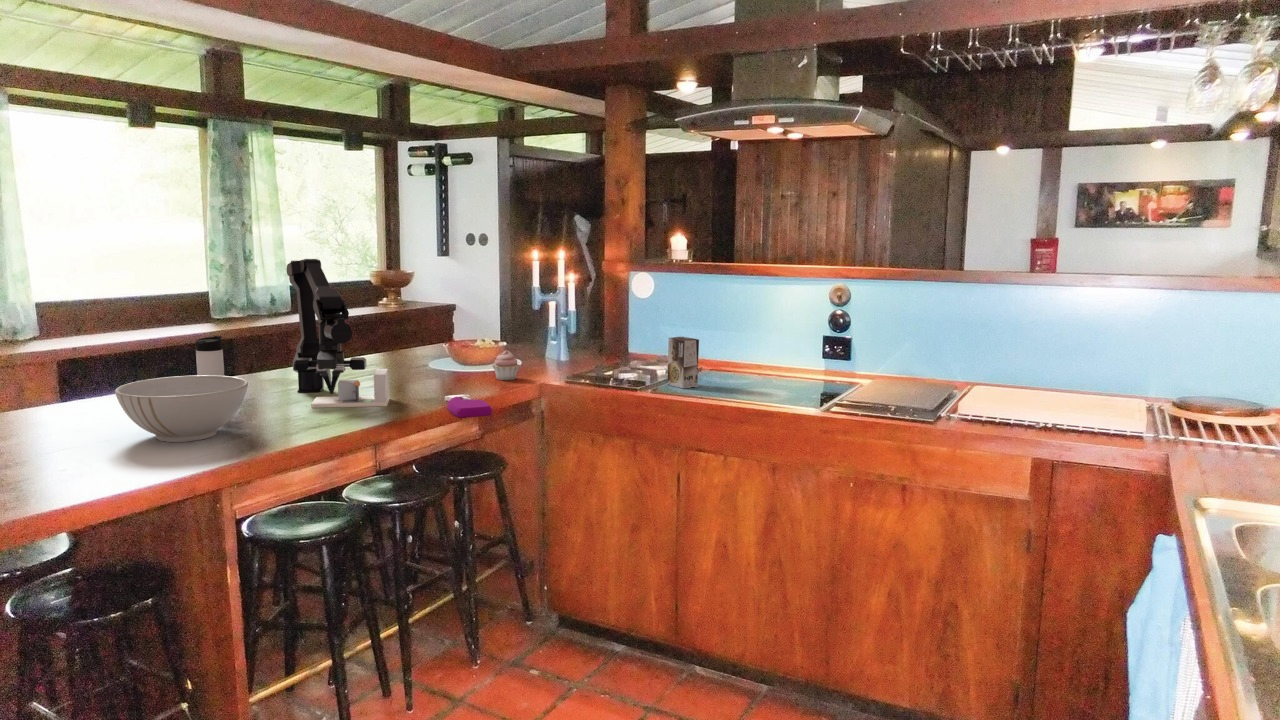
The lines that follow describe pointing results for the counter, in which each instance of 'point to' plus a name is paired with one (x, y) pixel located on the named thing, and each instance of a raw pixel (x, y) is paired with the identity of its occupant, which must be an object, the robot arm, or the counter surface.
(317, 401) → the base
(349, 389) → the block
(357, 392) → the drag needle
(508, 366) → the cupcake
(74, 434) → the counter surface
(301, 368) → the robot arm
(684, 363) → the coffee box
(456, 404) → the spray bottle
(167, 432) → the decorative bowl
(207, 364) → the travel mug
